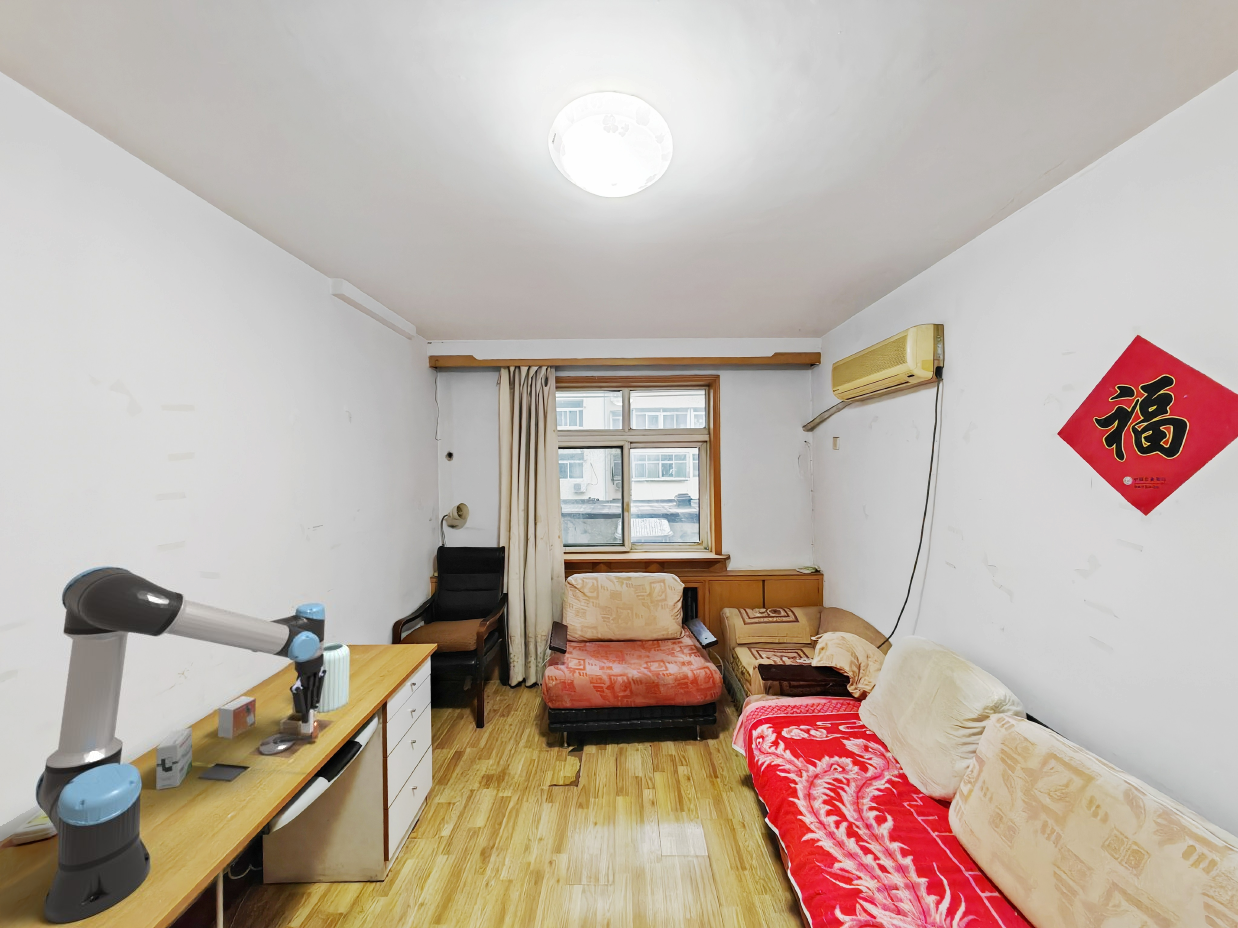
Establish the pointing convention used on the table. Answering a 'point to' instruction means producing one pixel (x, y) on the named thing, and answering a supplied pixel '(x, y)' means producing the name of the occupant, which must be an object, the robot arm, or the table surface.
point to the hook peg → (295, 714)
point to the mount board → (298, 744)
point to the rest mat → (223, 772)
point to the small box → (236, 717)
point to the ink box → (173, 758)
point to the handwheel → (285, 741)
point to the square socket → (292, 725)
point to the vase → (335, 677)
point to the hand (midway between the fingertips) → (307, 731)
